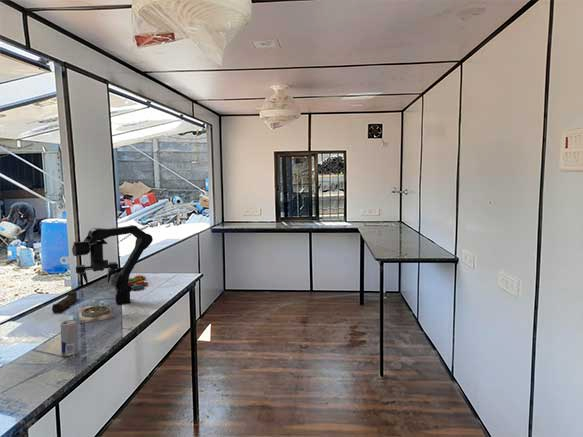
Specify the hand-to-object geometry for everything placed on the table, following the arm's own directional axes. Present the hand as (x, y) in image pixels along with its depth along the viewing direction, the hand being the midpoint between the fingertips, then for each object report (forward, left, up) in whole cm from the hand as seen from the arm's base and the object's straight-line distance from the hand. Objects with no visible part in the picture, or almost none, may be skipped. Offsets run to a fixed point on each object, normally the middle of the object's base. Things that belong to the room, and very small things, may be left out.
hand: (97, 284), depth 194 cm
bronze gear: (+2, +12, -11) cm, 16 cm away
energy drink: (+13, +53, -12) cm, 56 cm away
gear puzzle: (-24, -38, -13) cm, 47 cm away
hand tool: (+14, -11, -13) cm, 22 cm away
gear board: (+2, +10, -12) cm, 16 cm away
